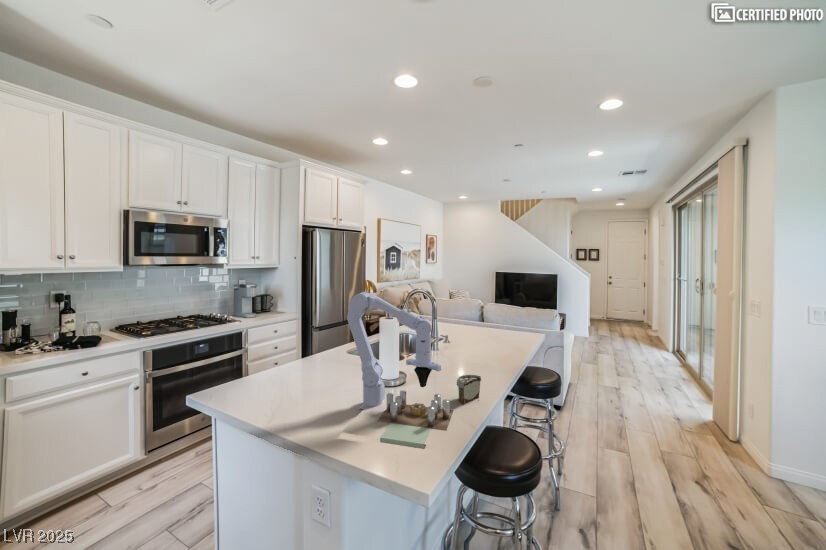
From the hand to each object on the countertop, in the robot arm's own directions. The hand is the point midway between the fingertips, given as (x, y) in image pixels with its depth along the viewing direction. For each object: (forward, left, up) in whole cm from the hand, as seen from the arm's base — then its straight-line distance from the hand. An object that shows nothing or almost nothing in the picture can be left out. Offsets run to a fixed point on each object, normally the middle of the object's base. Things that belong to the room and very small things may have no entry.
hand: (423, 386), depth 133 cm
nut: (+8, 0, -7) cm, 10 cm away
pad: (+23, 0, -9) cm, 24 cm away
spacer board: (+10, 0, -9) cm, 13 cm away
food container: (-10, +15, -9) cm, 20 cm away
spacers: (+10, 0, -7) cm, 12 cm away
